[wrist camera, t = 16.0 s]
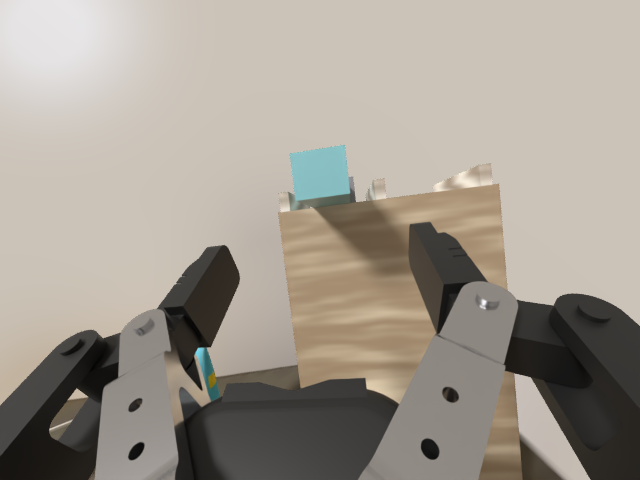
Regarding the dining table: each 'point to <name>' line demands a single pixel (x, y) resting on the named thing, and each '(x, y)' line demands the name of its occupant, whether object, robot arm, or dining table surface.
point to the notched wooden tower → (389, 290)
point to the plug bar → (322, 177)
